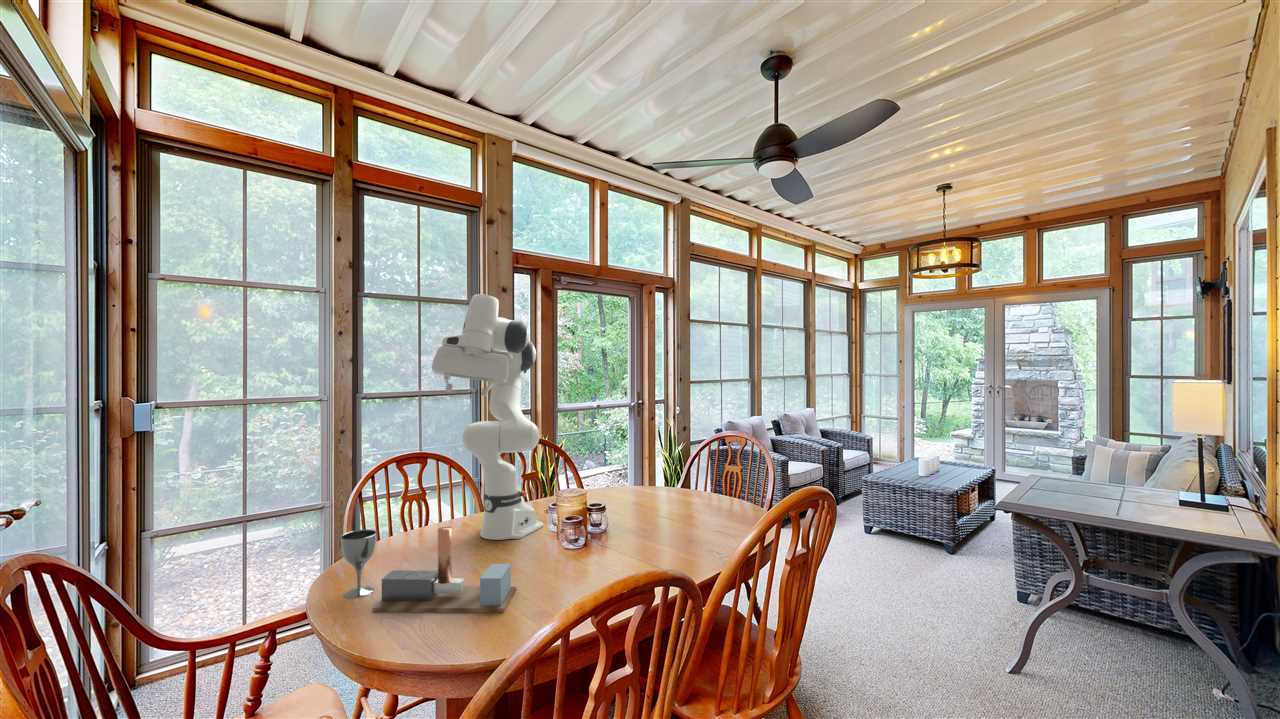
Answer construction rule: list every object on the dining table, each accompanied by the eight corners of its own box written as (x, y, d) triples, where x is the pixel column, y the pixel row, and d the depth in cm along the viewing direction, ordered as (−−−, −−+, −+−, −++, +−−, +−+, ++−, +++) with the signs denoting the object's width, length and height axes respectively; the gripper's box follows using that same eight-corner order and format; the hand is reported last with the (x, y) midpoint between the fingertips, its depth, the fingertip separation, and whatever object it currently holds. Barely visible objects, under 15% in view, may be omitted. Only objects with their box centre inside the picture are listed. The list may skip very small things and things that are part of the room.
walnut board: (372, 611, 125) (372, 607, 125) (396, 589, 137) (396, 586, 137) (503, 612, 125) (503, 608, 125) (516, 590, 137) (516, 586, 137)
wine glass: (334, 599, 132) (334, 539, 132) (352, 585, 140) (352, 529, 140) (366, 599, 132) (366, 539, 132) (381, 585, 140) (381, 529, 140)
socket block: (480, 605, 126) (480, 578, 126) (491, 589, 135) (491, 563, 135) (500, 605, 126) (500, 578, 126) (510, 589, 135) (510, 563, 135)
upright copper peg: (387, 593, 130) (387, 530, 130) (394, 587, 133) (394, 526, 133) (460, 594, 129) (460, 530, 129) (464, 588, 133) (464, 526, 133)
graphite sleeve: (381, 601, 129) (381, 579, 129) (392, 591, 134) (392, 570, 134) (430, 601, 128) (430, 579, 128) (439, 591, 134) (439, 570, 134)
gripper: (513, 355, 153) (505, 401, 148) (440, 345, 149) (429, 391, 144) (513, 348, 147) (504, 395, 142) (437, 336, 144) (425, 384, 139)
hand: (466, 393), depth 143 cm, fingers open, 8 cm apart
